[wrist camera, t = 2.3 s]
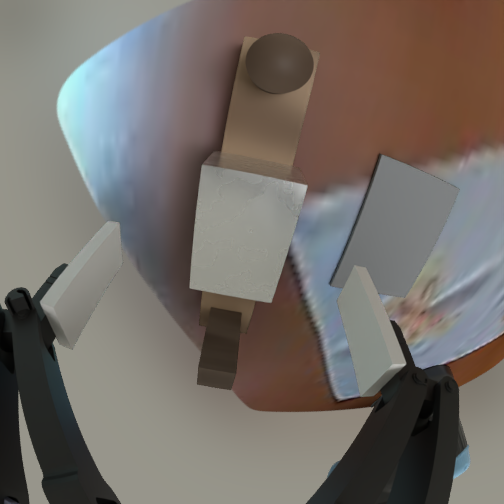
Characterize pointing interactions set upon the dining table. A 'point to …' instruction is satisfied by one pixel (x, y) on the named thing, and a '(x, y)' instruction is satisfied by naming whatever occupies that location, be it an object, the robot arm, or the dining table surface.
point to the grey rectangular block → (244, 225)
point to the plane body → (261, 147)
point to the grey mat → (396, 227)
